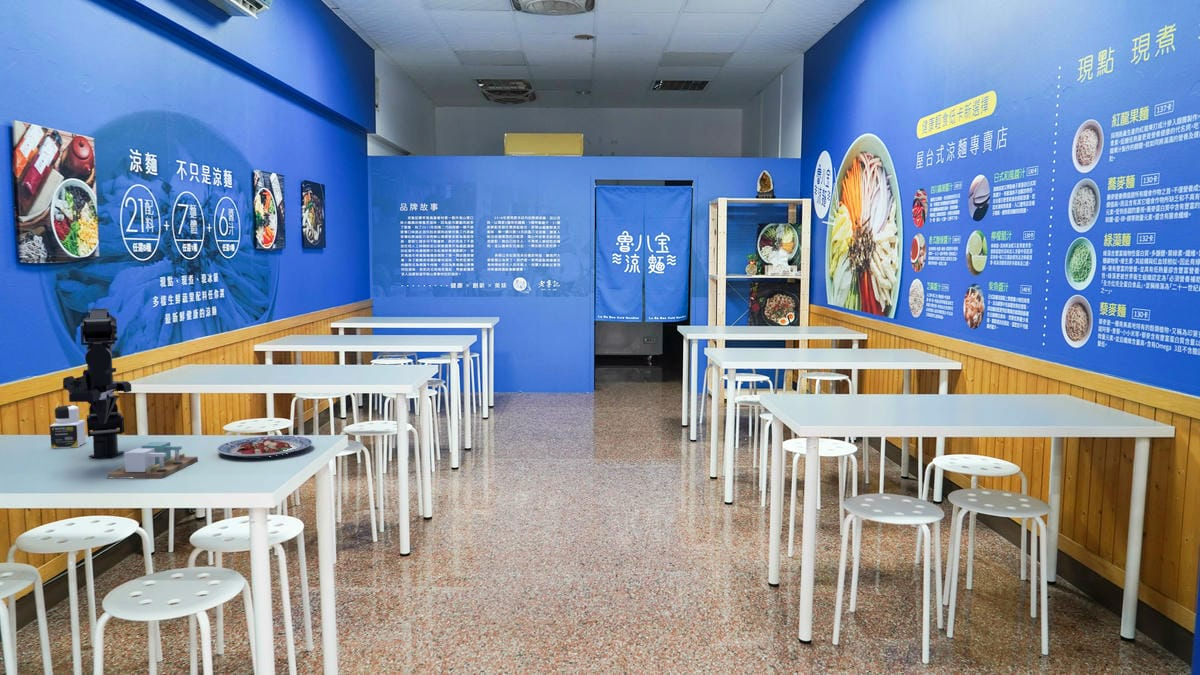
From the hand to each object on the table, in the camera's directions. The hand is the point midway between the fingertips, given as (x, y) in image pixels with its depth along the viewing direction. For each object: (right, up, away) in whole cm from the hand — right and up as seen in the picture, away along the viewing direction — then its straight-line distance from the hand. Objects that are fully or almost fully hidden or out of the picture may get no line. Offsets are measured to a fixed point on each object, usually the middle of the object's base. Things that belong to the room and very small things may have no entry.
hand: (102, 423), depth 227 cm
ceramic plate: (+35, -11, +21) cm, 42 cm away
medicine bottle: (-27, -10, +28) cm, 40 cm away
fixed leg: (+16, -11, -7) cm, 21 cm away
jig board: (+14, -12, -1) cm, 18 cm away
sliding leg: (+16, -11, +1) cm, 19 cm away
